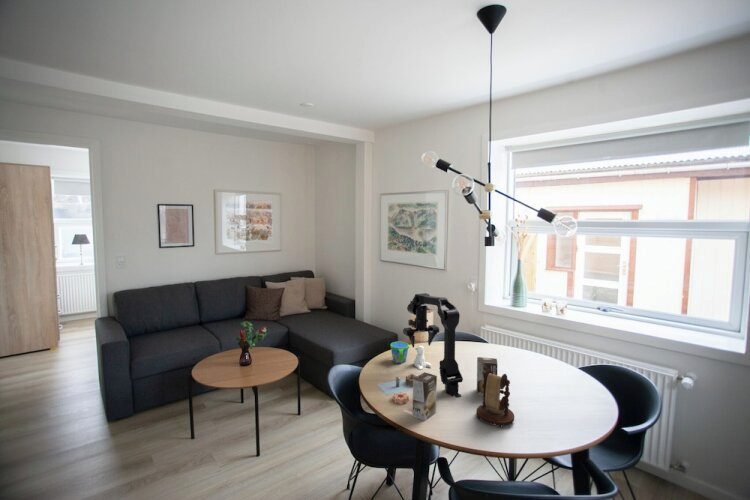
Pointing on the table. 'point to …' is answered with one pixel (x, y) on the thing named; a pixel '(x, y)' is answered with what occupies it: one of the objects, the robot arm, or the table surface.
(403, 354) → the snack cup
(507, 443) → the table surface
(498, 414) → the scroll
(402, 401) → the salmon gear
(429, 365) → the seated beast figurine
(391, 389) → the gear board
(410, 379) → the walnut gear
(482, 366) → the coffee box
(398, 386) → the metal gear peg
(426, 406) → the coffee box
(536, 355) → the table surface
